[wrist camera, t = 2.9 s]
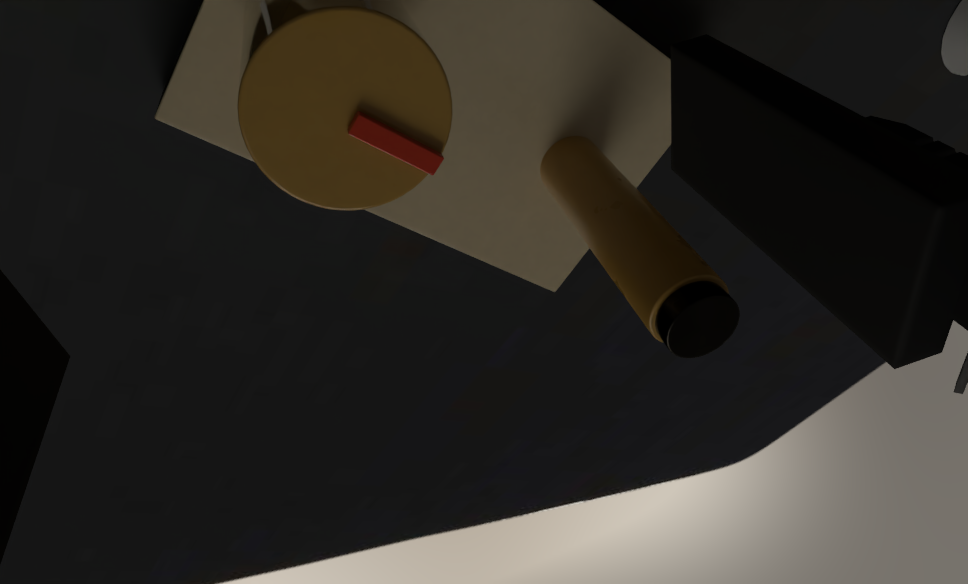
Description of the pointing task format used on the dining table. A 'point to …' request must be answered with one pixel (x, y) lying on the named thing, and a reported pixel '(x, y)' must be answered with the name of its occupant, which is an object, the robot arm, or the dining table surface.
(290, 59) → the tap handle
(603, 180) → the brown tall cylinder
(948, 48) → the chalice
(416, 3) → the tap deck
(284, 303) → the dining table surface
